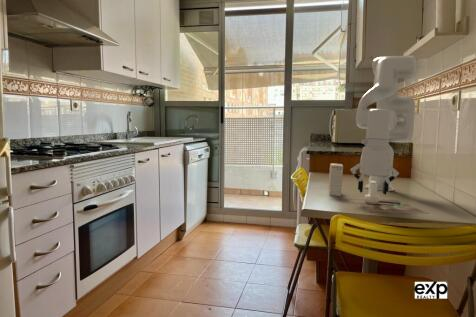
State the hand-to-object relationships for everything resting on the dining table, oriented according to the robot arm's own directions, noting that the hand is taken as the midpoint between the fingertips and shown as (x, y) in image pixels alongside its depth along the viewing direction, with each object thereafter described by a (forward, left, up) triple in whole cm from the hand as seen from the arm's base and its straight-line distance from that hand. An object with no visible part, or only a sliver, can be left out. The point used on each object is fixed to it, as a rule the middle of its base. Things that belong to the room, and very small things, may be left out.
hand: (372, 192), depth 130 cm
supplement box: (-16, -8, -5) cm, 19 cm away
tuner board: (+2, +3, -5) cm, 6 cm away
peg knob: (+1, +3, -4) cm, 5 cm away
